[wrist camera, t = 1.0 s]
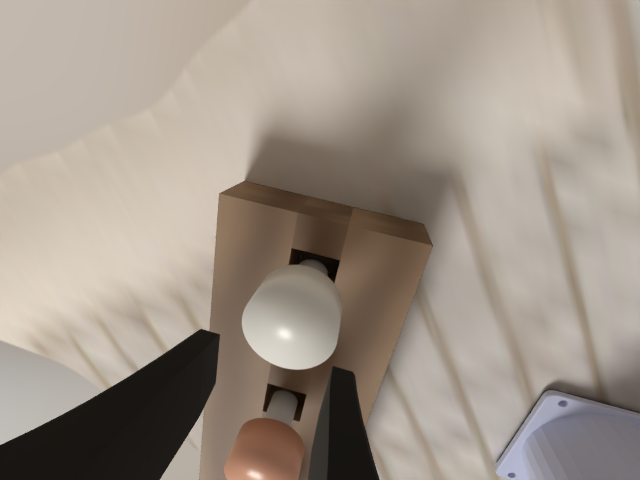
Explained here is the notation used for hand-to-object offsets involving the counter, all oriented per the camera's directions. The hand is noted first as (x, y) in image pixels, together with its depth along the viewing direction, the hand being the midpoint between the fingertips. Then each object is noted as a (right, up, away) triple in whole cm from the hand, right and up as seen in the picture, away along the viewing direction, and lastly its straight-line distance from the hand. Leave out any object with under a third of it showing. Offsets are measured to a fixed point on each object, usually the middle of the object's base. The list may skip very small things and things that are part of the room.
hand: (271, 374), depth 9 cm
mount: (0, -5, +12) cm, 13 cm away
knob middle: (-1, -6, +10) cm, 11 cm away
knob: (+1, +2, +6) cm, 7 cm away
